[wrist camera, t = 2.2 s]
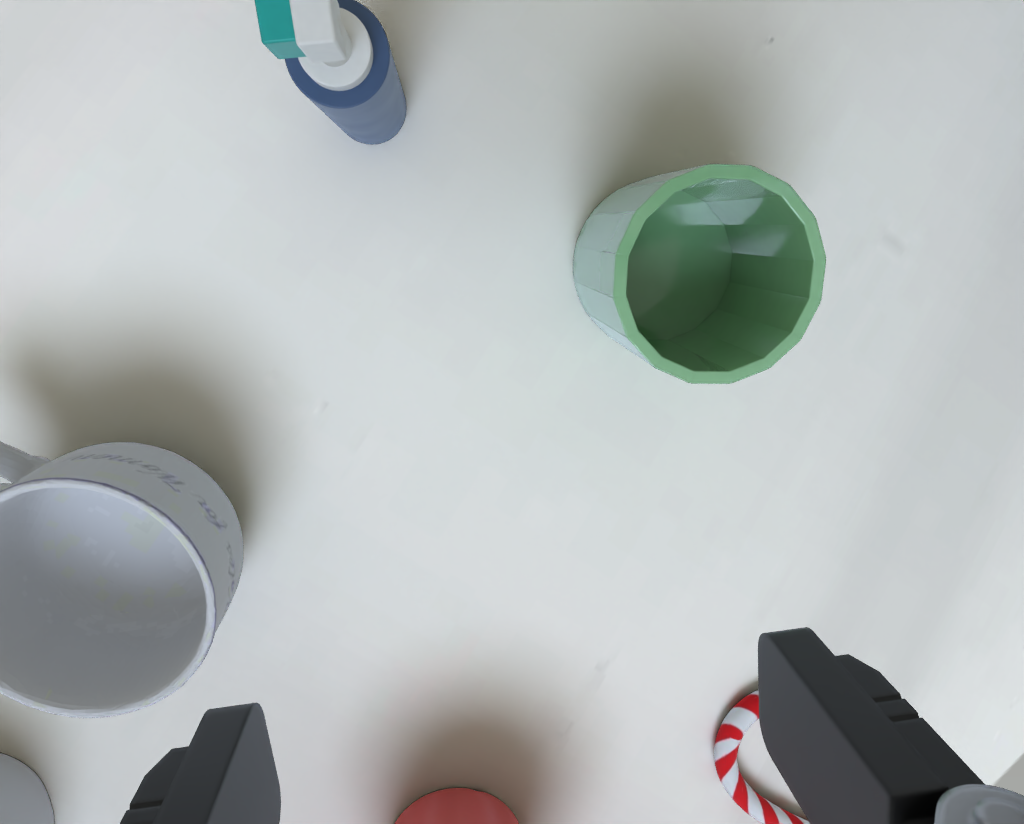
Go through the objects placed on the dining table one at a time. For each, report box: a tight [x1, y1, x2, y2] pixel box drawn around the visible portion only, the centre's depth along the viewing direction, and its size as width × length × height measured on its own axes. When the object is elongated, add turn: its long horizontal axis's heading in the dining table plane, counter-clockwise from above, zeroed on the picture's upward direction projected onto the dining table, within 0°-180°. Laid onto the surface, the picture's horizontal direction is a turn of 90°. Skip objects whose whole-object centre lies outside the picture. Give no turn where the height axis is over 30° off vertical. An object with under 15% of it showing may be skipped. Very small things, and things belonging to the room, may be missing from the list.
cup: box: [573, 164, 826, 384], centre depth 32 cm, size 8×8×9 cm
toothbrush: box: [255, 0, 406, 144], centre depth 26 cm, size 3×3×16 cm
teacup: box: [0, 442, 243, 718], centre depth 33 cm, size 14×11×8 cm
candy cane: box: [714, 690, 810, 824], centre depth 44 cm, size 8×1×15 cm
